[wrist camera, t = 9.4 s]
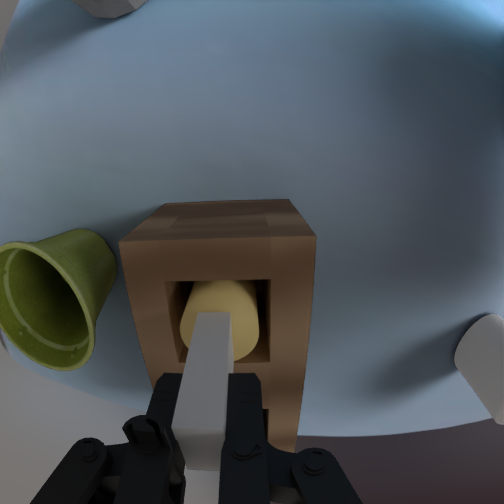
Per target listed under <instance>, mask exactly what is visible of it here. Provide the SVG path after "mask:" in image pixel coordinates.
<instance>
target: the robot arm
mask: <svg viewBox="0 0 504 504" xmlns="http://www.w3.org/2000/svg"><path fill="white" fill-rule="evenodd" d="M233 366H234V354H233V340H232V325H231V312H198V314H197V318H196V322H195V326H194V330H193V334H192V338H191V342H190V346H189V351H188V355H187V359H186V363H185V368H184V372H183V373H163V374H162V376H161V377H160V378H159V379H158V380H157V381H156V384H155V387H154V392H153V394H152V397H151V401H150V403H149V407H148V410H147V413H146V415H139V416H136V417H133V418H131V419H129V420H128V421H127V422H126V423H125V424H124V426H123V427H122V429H123V431H124V433H125V435H126V436H127V438H128V440H129V442H128V443H123V444H116V445H106V446H105V445H104V443H102V442H101V441H100V440H98V439H95V438H83V439H81V440H79V441H77V442H76V443H75V444H74V445H73V446H72V448H71V449H70V450H69V451H68V453H67V454H66V455H65V457H64V458H63V459H62V461H61V462H60V463H59V465H58V466H57V467H56V469H55V470H54V471H53V473H52V474H51V475H50V477H49V478H48V480H47V481H46V482H45V484H44V485H43V486H42V488H41V489H40V491H39V492H38V493H37V495H36V496H35V497H34V499H33V500H32V501H31V503H30V504H184V495H185V487H186V480H185V476H184V468H185V464H186V467H187V469H190V470H206V471H220V483H219V501H218V502H219V503H218V504H270V501H272V502H277V503H282V504H363V503H362V502H361V500H360V498H359V497H358V495H357V493H356V492H355V490H354V489H353V487H352V485H351V483H350V482H349V480H348V479H347V477H346V475H345V473H344V472H343V470H342V468H341V467H340V465H339V463H338V462H337V460H336V458H335V457H334V456H333V455H332V454H331V453H330V452H329V451H326V450H325V449H321V448H315V447H314V448H308V449H304V450H302V451H300V452H298V453H292V452H287V451H283V450H279V449H277V448H275V447H273V446H272V445H271V444H270V443H269V442H268V441H267V439H266V437H265V433H264V420H263V406H262V391H261V381H260V380H259V378H258V377H257V375H256V374H255V373H233Z"/></svg>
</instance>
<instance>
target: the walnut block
mask: <svg viewBox="0 0 504 504" xmlns="http://www.w3.org/2000/svg"><path fill="white" fill-rule="evenodd" d="M118 243H119V249H120V255H121V261H122V266H123V272H124V277H125V282H126V287H127V292H128V297H129V301H130V306H131V310H132V314H133V319H134V323H135V327H136V331H137V335H138V339H139V343H140V346H141V350H142V354H143V357H144V361H145V364H146V367H147V371H148V374H149V377H150V381H151V384H152V387H153V390H154V387H155V384H156V381H157V380H158V379H159V378H160V377H161V376H162V374H163V373H183V372H184V368H185V363H186V359H187V355H188V351H189V349H188V348H187V346H186V345H185V344H184V342H183V340H182V337H181V334H180V323H181V319H182V316H183V313H184V310H185V307H186V304H187V301H188V298H189V296H190V293H191V290H192V287H193V284H194V281H212V280H255V282H256V297H257V311H258V325H259V337H258V341H257V344H256V345H255V347H254V349H253V350H252V351H251V352H250V353H249V354H248V355H246V356H245V357H243V358H241V359H239V360H236V361H234V366H233V373H255V374H256V375H257V377H258V378H259V380H260V381H261V391H262V406H263V420H264V433H265V437H266V439H267V441H268V442H269V443H270V444H271V445H272V446H273V447H275V448H277V449H279V450H283V451H287V452H292V453H294V450H295V444H296V437H297V431H298V424H299V417H300V410H301V403H302V395H303V388H304V379H305V371H306V362H307V353H308V343H309V333H310V322H311V311H312V298H313V285H314V270H315V252H316V235H315V234H314V232H313V231H312V230H311V228H310V227H309V225H308V224H307V223H306V221H305V220H304V219H303V217H302V216H301V215H300V213H299V212H298V211H297V210H296V208H295V207H294V206H293V204H292V203H291V202H290V200H289V199H273V200H231V201H205V202H184V203H167V204H164V205H163V206H162V207H160V208H159V209H158V210H157V211H155V212H154V213H153V214H152V215H150V216H149V217H148V218H147V219H145V220H144V221H143V222H142V223H140V224H139V225H138V226H137V227H136V228H134V229H133V230H132V231H131V232H130V233H128V234H127V235H126V236H125V237H124V238H122V239H121V240H120V241H119V242H118Z"/></svg>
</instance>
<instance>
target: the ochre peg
mask: <svg viewBox="0 0 504 504" xmlns="http://www.w3.org/2000/svg"><path fill="white" fill-rule="evenodd" d="M198 312H231V325H232V340H233V354H234V361H236V360H239V359H241V358H243V357H245V356H246V355H248V354H249V353H250V352H251V351H252V350H253V349H254V347H255V345H256V344H257V341H258V337H259V325H258V311H257V297H256V282H255V280H212V281H194V284H193V287H192V290H191V293H190V296H189V298H188V301H187V304H186V307H185V310H184V313H183V316H182V319H181V323H180V334H181V337H182V340H183V342H184V344H185V345H186V346H187V348H188V349H189V346H190V342H191V338H192V334H193V330H194V326H195V322H196V318H197V314H198Z"/></svg>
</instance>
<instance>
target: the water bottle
mask: <svg viewBox="0 0 504 504" xmlns="http://www.w3.org/2000/svg"><path fill="white" fill-rule="evenodd" d="M71 1H72V2H74V3H75V4H77V5H78V6H80V7H81V8H82V9H84V10H85V11H87V12H88V13H90V14H91V15H92V16H94V17H95V18H116V17H119V16H121V15H124V14H126V13H129V12H132V11H134V10H137V9H138V8H139V7H140V6H141V5H143V4H144V3H145V2H146V1H148V0H71Z"/></svg>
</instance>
